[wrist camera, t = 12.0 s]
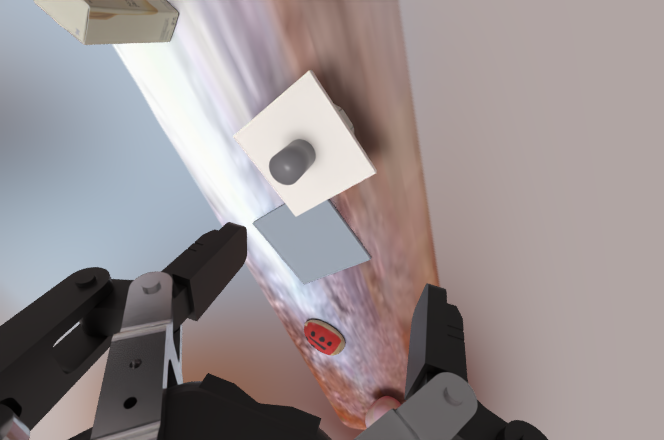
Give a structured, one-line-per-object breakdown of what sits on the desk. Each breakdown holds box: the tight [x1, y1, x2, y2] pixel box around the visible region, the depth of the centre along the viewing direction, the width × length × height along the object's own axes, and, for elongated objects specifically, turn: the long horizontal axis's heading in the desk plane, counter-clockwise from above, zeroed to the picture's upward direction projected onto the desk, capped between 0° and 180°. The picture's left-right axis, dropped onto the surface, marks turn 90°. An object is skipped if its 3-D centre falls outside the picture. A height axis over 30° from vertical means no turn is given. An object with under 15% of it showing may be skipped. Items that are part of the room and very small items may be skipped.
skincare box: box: [34, 0, 178, 45], centre depth 35 cm, size 6×4×12 cm
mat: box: [253, 199, 371, 285], centre depth 52 cm, size 15×15×1 cm
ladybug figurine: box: [304, 320, 345, 355], centre depth 63 cm, size 7×10×4 cm
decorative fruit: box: [365, 396, 401, 428], centre depth 66 cm, size 9×8×10 cm
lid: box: [233, 70, 377, 217], centre depth 35 cm, size 13×13×6 cm
